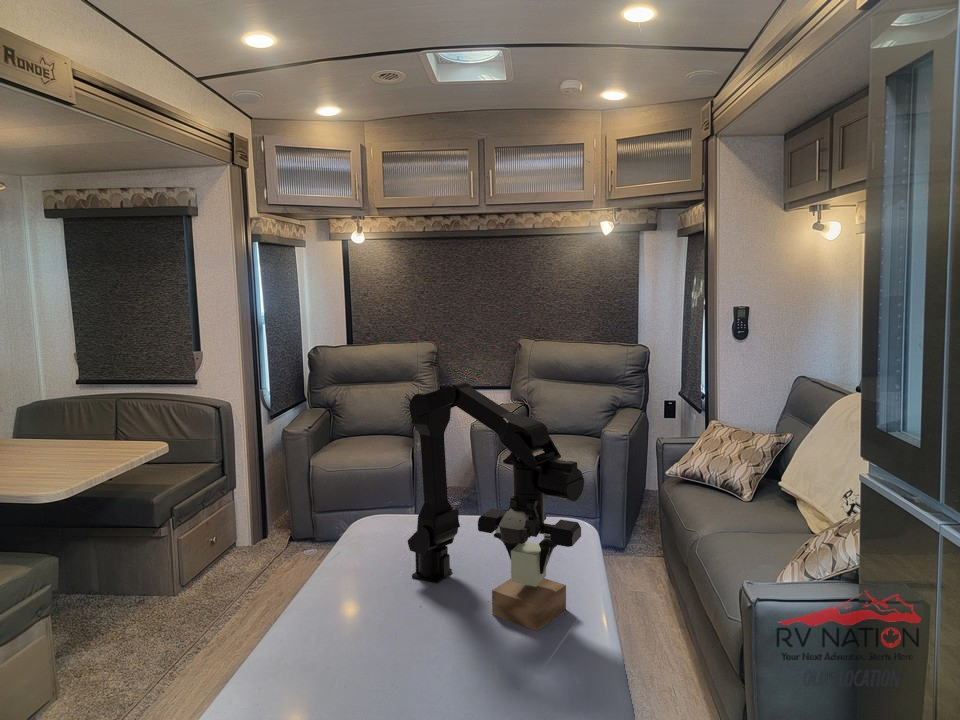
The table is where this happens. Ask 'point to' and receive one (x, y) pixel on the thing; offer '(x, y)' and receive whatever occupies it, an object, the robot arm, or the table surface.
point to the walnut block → (529, 602)
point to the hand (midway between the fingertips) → (528, 570)
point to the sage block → (526, 564)
